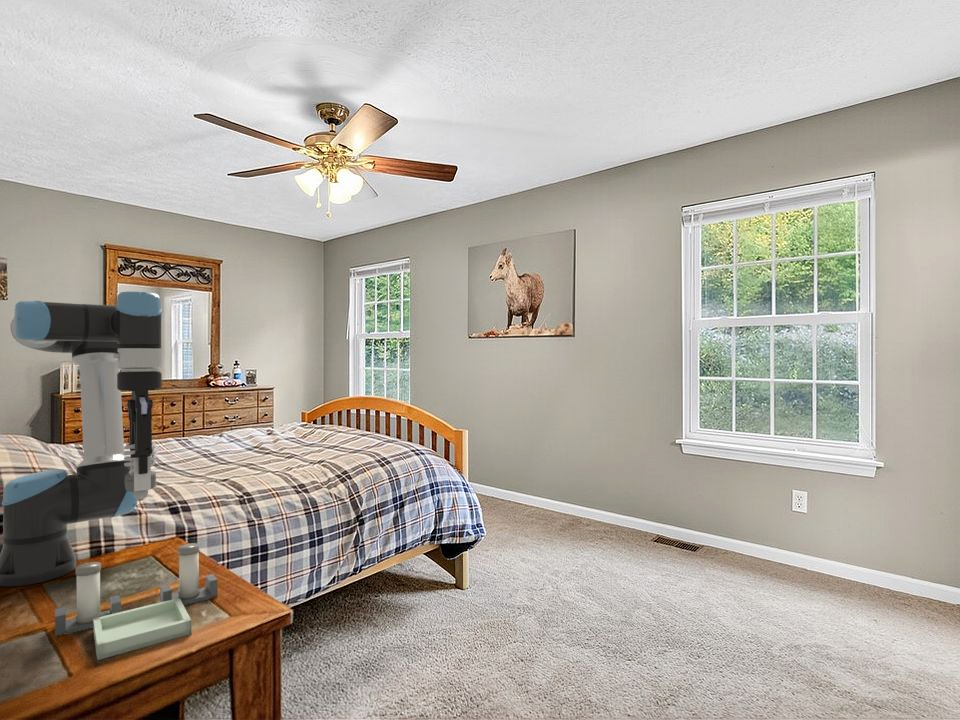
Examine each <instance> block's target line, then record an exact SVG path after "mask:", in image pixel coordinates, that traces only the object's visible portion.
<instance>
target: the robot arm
mask: <svg viewBox="0 0 960 720" xmlns="http://www.w3.org/2000/svg"><path fill="white" fill-rule="evenodd" d="M161 301H162V299H161V297H160V296H159V295H158V294H157V293H153V292H148V291H121V292H119V293H118V294H117V296H116V304H115V305H110V304H108V305H107V304H91V303H89V304H87V303H72V302H71V303H67V302H53V301H51V302H50V301H42V300H32V301H30V300H28V301H27V300H26V301H25V300H22V301H17V302H16V303H15V306H14V307H15V308H14V316H13V319H12V320H11V323H10V332H11V334H12V336H13V337H12V338H14V339H15V341H16V342H18V343H19V344H20V345H22V346H25V347H27V348H30V349H33V350H37V351H42V352H47V353H60V354H61V353H62V354H67V353H68V354H71V360H72V362H73V363H75V364H76V365H77V366H79V377H80V399H81V400H80V401H81V421H82V422H81V423H82V425H81V426H82V445H83V446H82V448H83V449H82V450H83V452H82V453H83V459H82V460H81V461H80V462H79V463H78V464H77V465H76V473H74V474H68V471H67V470H66V469H64V468H63V469H61V468H60V469H52V470H51V469H49V470H44V471H39V472H34V473H30V474H26V475H22V476H19V477H16V478H14V479H12V480H10V481H8V482H6V484H5V485H4V487H3V493H2V494H3V495H2V501H1V506H2V507H3V508H2V509H3V515H2V517H3V518H2V524H3V526H2V528H3V531H2V538H3V539H2V541H3V542H2V544H3V545H2V548H1V552H0V587H22V586H28V585H35V584H38V583H44V582H47V581H48V582H49V581H50V580H54V579H57V578H60V577H62V576H65V575H67V574H69V573H71V572H73V571H74V570H76V567H77V555H76V554H75V551H74V548H73V547H72V544H71V541H70V540H69V536H68V525H70V524H75V523H82V522H88V521H94V520H99V519H106V518H115V517H117V516H122V515H127V514H130V513H132V512H133V511H134V510H135V508H136V507H137V504H138V502H139V500H137V499H135V498H134V497H133V492H129V491H127V490H126V489H125V481H124V479H125V475H127V474H129V473H130V471H131V470H132V469H133V468H134V492H135V491H143V490H148V491H151V490H152V489H151V471H152V470H151V469H152V467H151V463H152V462H151V457H152V456H150V455H151V454H152V452H153V451H152V442H153V437H152V436H153V433H152V432H153V431H152V428H153V427H152V424H153V423H152V420H153V416H152V415H153V414H152V413H153V412H152V411H153V409H152V408H153V407H154V403H153V399H151V398H149V397H150V396H149V391H159V390H161V389H162V386H163V385H162V382H163V381H162V380H163V377H162V375H163V374H162V372H161V371H159V369H161V368H162V367H163V353H162V351H163V349H162V314H163V309H162V302H161ZM122 392H131V396H130V398H131V399H127V401H126V402H127V403H126V405H127V406H126V407H127V409H128V416H127V417H128V421H129V424H128V425H129V426H128V427H129V431H128V433H129V434H128V436H129V442H128V445H133V444H135V449H129V451H133V450H135V453H134V454H131V455H129V457H130V456H131V458H134V460H131V461H124V460H123V459H124V457H128V455H124V452H125V448H124V447H125V439H124V422H123V421H124V420H123V408H122V407H123V405H122ZM127 462H134V466H129V467H126V466H124V463H127Z"/></svg>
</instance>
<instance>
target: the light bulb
mask: <svg viewBox="0 0 960 720" xmlns="http://www.w3.org/2000/svg"><path fill="white" fill-rule="evenodd" d="M156 447H157V445H156V443H155V442H153V441H152V451H153V452H152V454H151V455H150V456H151V468H152V467H154V466H155V465H156V464H157V460H156V459H157V457H158V455H157V454H156V453H157V449H156ZM130 449H135V444H133V445H129V444H128V445H127V444H126V445H124V455H126V456H127V457H124V459H123V460H124V461H131V460H134V458H131V456H130V455H131V454H134V453H135V450H133V451H130ZM124 466H126V467H129V466H134V462H127V463H124ZM156 474H157V473H156V472H155V471H153V470H151V490H152V489H154V488H155V487H156V483H157V475H156ZM124 481H125V489H126V490H127V491H129V492H133V497H134V498H135V499H137V500H138V502H139V501H144V499H146V498H147V497H148V495H149V490H143V491H135V492H134V468H133V469H132V470H131V471H130V473H129V474H127V475H125V479H124Z"/></svg>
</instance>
